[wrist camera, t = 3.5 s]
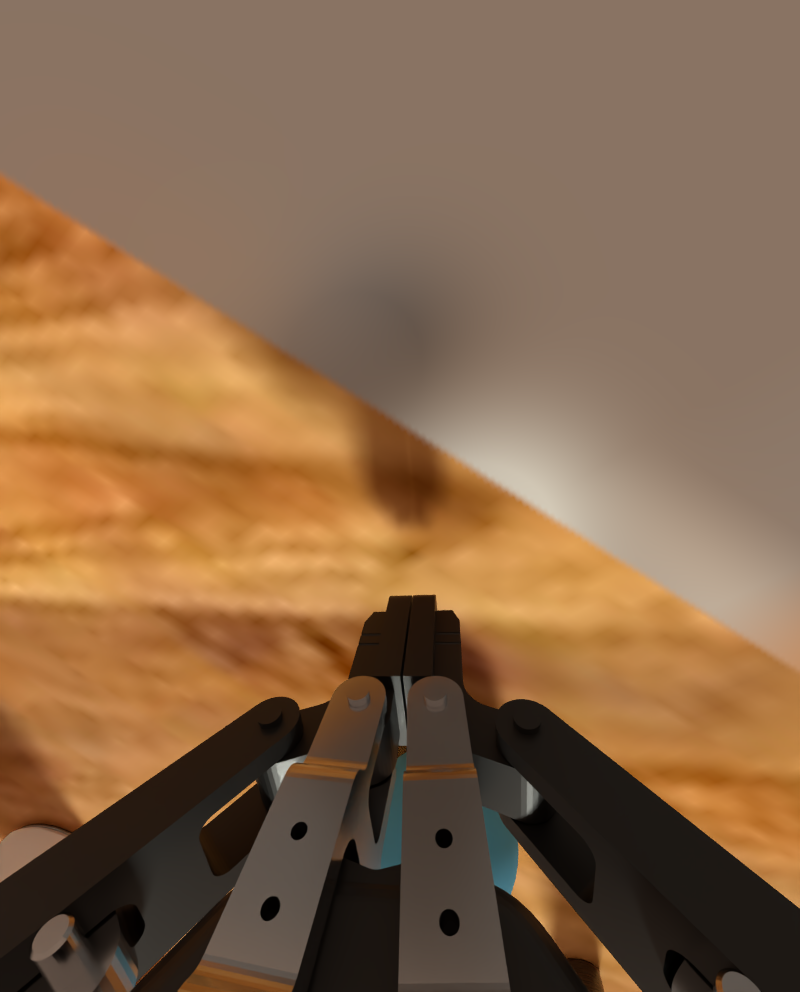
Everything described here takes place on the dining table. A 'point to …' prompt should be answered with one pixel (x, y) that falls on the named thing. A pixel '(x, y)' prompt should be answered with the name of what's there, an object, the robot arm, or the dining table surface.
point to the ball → (498, 835)
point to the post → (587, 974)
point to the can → (27, 846)
